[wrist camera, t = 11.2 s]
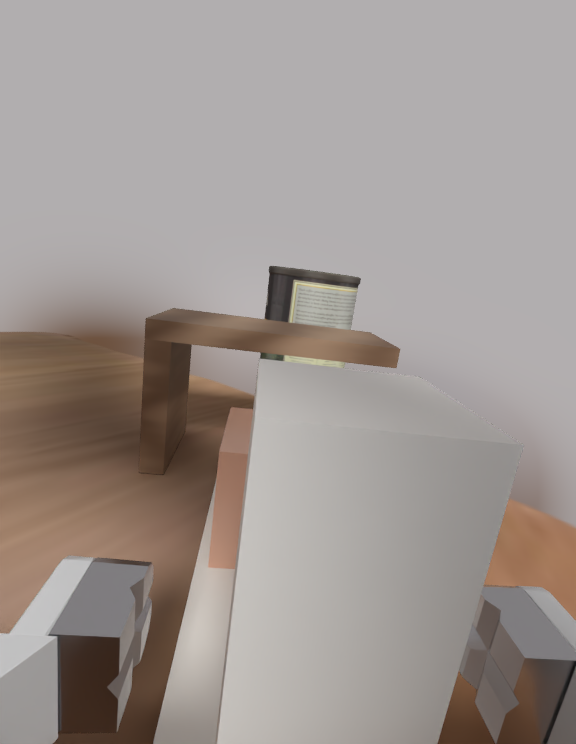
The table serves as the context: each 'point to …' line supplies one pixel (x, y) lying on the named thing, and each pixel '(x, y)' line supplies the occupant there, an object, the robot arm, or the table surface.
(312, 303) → the coffee can
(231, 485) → the cube
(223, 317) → the shelf
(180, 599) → the table surface
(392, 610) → the white pillar stand
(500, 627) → the robot arm
